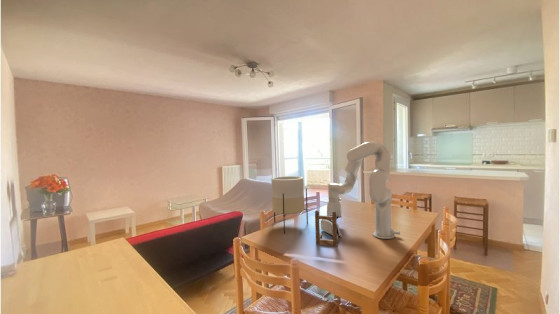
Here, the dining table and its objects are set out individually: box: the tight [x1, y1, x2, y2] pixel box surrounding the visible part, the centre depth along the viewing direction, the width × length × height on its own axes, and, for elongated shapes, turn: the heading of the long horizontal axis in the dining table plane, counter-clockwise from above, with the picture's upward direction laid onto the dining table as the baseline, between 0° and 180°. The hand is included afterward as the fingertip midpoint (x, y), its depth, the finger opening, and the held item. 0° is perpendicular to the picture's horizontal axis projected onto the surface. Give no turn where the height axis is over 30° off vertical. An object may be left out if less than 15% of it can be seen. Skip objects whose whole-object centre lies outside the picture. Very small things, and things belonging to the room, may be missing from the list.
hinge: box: [320, 219, 343, 238], centre depth 152 cm, size 17×5×10 cm, turn 24°
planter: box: [270, 175, 309, 234], centre depth 170 cm, size 26×27×36 cm
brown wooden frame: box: [314, 209, 339, 248], centre depth 138 cm, size 12×11×20 cm
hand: (334, 224), depth 168 cm, fingers closed
